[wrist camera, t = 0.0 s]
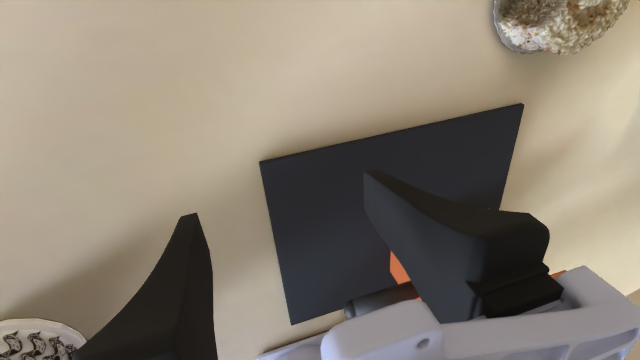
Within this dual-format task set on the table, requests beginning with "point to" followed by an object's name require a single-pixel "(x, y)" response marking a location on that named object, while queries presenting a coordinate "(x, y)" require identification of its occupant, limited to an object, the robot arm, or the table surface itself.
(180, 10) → the table surface
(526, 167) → the table surface
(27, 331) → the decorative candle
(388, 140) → the mat
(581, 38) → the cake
